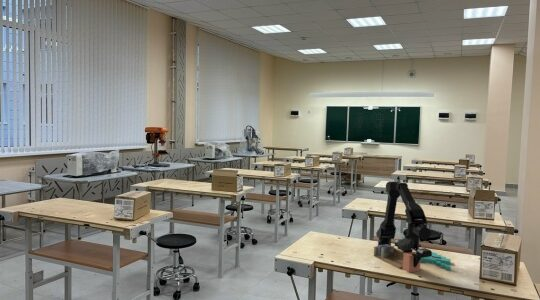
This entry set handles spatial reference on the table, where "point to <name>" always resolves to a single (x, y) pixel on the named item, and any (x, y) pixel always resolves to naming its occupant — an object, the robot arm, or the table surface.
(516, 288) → the table surface
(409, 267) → the salmon pink block
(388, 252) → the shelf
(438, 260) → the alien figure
